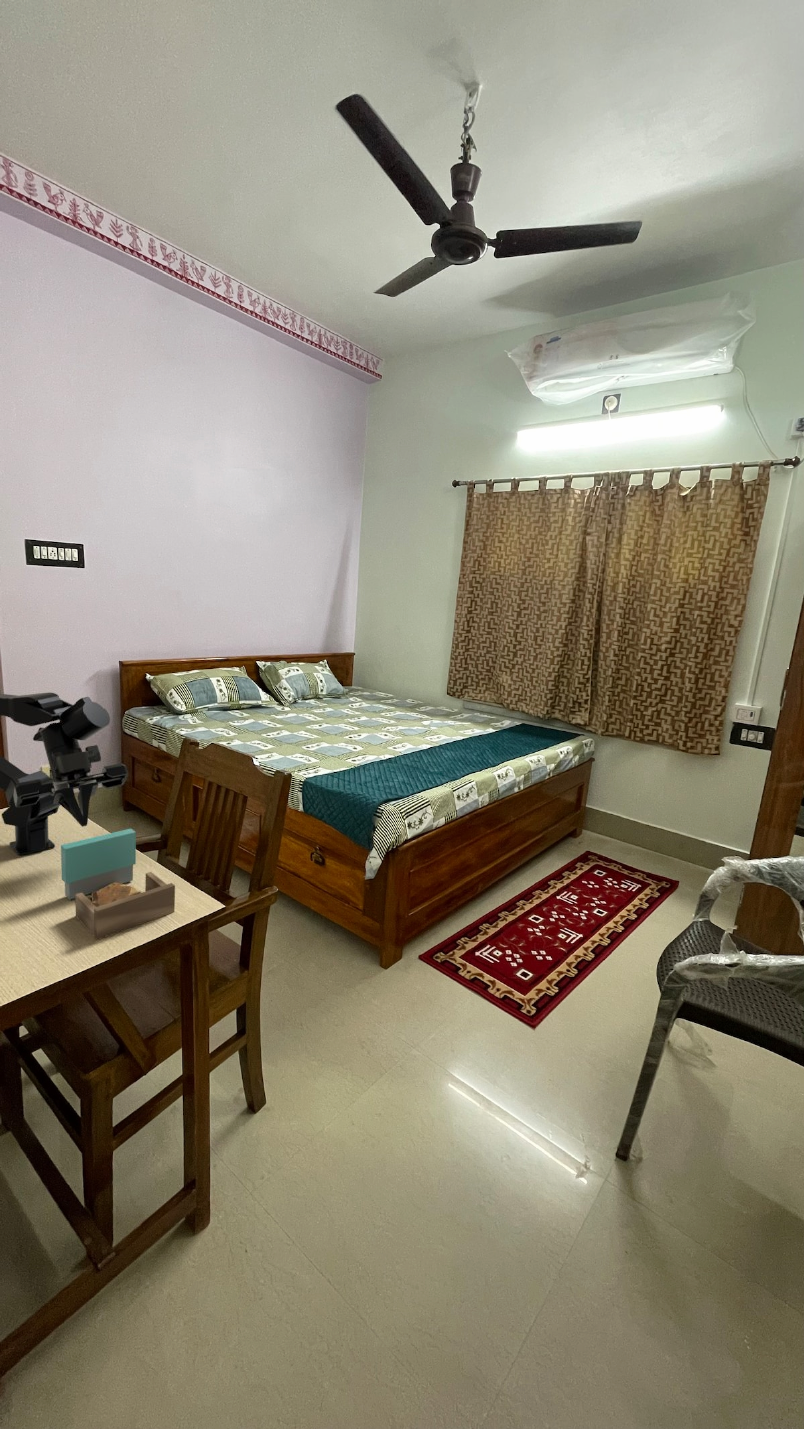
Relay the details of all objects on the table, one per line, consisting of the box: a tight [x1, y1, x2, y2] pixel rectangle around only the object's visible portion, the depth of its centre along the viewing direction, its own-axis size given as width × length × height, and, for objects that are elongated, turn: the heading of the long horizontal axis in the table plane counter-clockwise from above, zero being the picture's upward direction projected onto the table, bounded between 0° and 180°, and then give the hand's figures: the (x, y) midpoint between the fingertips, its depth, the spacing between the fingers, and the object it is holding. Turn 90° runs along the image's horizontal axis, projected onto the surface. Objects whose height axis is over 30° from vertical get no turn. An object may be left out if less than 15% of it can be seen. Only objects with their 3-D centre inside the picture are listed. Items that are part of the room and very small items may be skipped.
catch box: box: [74, 871, 176, 941], centre depth 97 cm, size 9×13×5 cm
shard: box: [91, 882, 142, 907], centre depth 99 cm, size 11×8×2 cm
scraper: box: [60, 828, 137, 900], centre depth 103 cm, size 2×12×10 cm, turn 139°
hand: (84, 825), depth 106 cm, fingers closed
